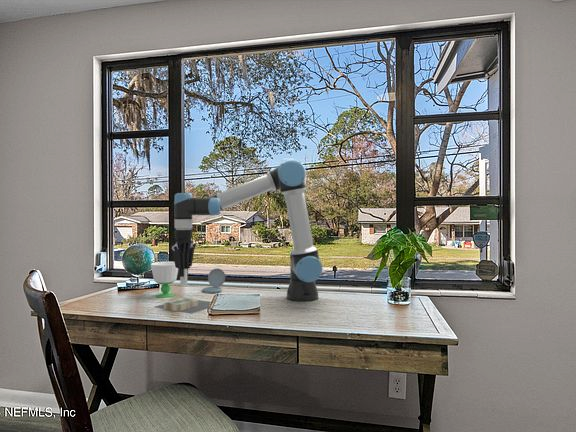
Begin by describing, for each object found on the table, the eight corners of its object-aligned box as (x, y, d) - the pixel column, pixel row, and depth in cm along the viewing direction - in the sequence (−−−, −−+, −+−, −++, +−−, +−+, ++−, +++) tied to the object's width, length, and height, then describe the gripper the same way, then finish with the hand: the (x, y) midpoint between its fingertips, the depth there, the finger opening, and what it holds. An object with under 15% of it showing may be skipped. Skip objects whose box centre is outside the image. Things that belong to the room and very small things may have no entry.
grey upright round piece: (226, 268, 228) (215, 273, 213) (226, 289, 228) (215, 295, 214) (208, 268, 230) (196, 272, 215) (208, 288, 230) (196, 294, 216)
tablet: (198, 299, 189) (177, 305, 179) (198, 305, 189) (178, 311, 179) (184, 297, 193) (164, 302, 183) (184, 303, 193) (164, 309, 183)
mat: (223, 305, 193) (223, 303, 193) (191, 315, 175) (191, 313, 175) (186, 299, 204) (186, 298, 204) (153, 308, 187) (153, 306, 187)
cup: (152, 299, 204) (151, 266, 203) (149, 293, 216) (149, 262, 216) (181, 297, 209) (181, 264, 208) (177, 291, 221) (177, 260, 221)
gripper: (187, 228, 194) (188, 280, 194) (165, 229, 183) (166, 285, 183) (200, 228, 190) (200, 282, 191) (178, 230, 179) (179, 287, 179)
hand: (183, 283), depth 187 cm, fingers closed
